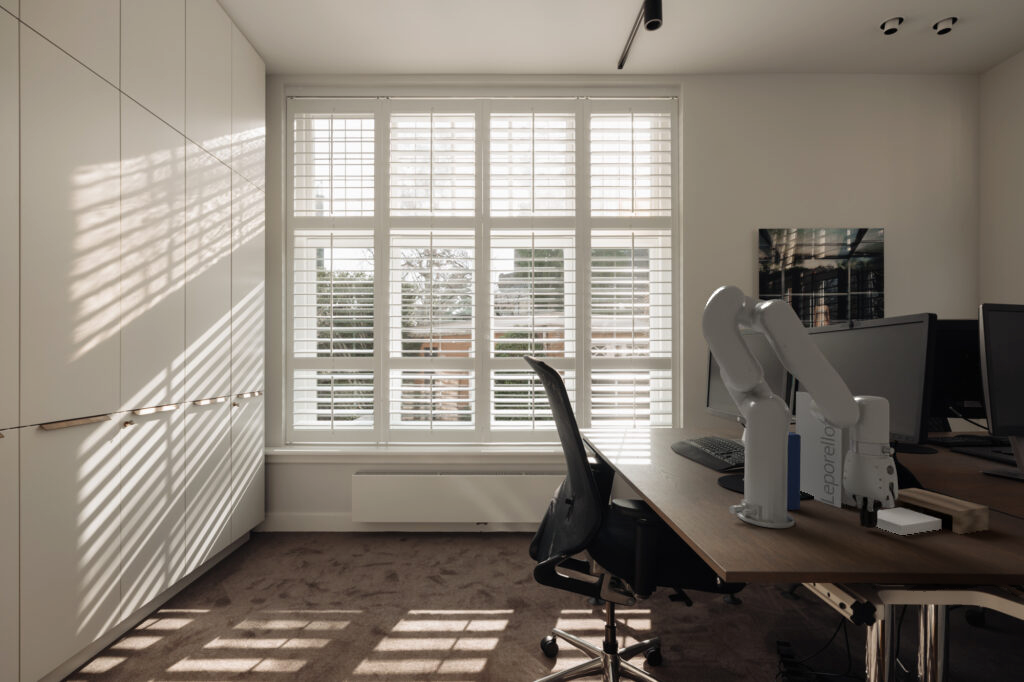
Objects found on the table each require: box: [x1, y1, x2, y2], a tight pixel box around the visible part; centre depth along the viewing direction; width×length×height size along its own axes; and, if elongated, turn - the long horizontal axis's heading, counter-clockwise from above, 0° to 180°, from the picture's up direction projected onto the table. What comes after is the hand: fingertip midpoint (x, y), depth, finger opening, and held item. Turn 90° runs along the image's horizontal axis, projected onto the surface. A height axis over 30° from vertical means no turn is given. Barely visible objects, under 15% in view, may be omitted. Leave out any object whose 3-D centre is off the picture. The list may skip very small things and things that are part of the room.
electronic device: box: [787, 431, 801, 511], centre depth 133 cm, size 10×5×20 cm, turn 9°
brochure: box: [795, 391, 856, 509], centre depth 139 cm, size 14×6×30 cm, turn 18°
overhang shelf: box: [887, 487, 990, 535], centre depth 123 cm, size 10×16×6 cm, turn 19°
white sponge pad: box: [875, 507, 942, 536], centre depth 118 cm, size 14×9×2 cm, turn 109°
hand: (868, 526), depth 115 cm, fingers closed
